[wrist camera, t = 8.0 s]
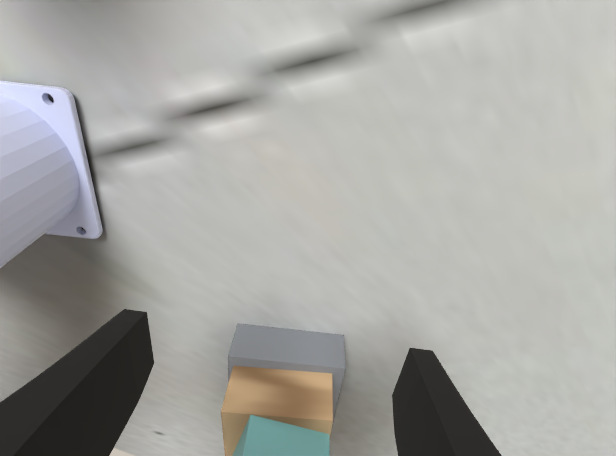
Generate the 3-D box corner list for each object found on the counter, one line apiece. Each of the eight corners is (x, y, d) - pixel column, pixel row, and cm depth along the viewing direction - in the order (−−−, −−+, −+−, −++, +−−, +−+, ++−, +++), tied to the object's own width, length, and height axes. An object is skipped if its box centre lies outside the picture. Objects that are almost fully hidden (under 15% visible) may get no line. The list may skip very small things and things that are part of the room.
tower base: (238, 386, 28) (229, 424, 25) (238, 319, 24) (228, 356, 22) (329, 396, 28) (330, 435, 26) (343, 330, 25) (345, 368, 22)
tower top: (236, 424, 25) (226, 470, 23) (233, 365, 22) (220, 411, 20) (324, 431, 25) (323, 478, 23) (332, 373, 22) (332, 420, 20)
